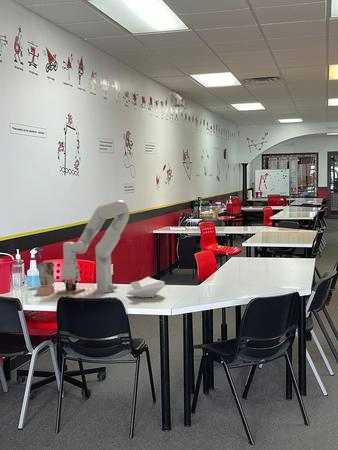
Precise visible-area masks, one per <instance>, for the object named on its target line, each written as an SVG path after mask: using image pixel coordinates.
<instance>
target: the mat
mask: <svg viewBox="0 0 338 450" xmlns="http://www.w3.org/2000/svg"><path fill="white" fill-rule="evenodd" d="M87 290H88V289H85V291H82V292H80V293H77V294H69V295H73V296H74V295H75V296H77V295H80V294H81V293H83V292H86V291H87ZM54 294H55V295H58V294H57V292H56V293H55V292H54Z"/></svg>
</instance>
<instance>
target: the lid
mask: <svg viewBox="0 0 338 450" xmlns="http://www.w3.org/2000/svg"><path fill="white" fill-rule="evenodd" d="M72 285H73V281H68V290H66V288H64V289H61V290H59V291H56V293H57V294H56V295H70V294H77V293H79V294H81V293H80V292H82V291H84V292H86V291H85V290H86V288H76V290H75V291H73V287H72ZM82 293H83V292H82ZM77 295H78V294H77Z"/></svg>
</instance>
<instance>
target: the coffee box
mask: <svg viewBox="0 0 338 450" xmlns="http://www.w3.org/2000/svg"><path fill="white" fill-rule="evenodd" d="M36 265H37V266H36V267H37V272H38V271H39V278H40V285H41V286H45V285H52V284H54V285H55V277H54V276H55V275H54V271H55V270H54V262H53V261H44V262H37V263H36Z"/></svg>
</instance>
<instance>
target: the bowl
mask: <svg viewBox="0 0 338 450" xmlns="http://www.w3.org/2000/svg"><path fill="white" fill-rule="evenodd" d="M35 288H36V295H37V296H40V297H41V296H43V297H44V296H52V295H54V294H55V285H53V286H52V285H45V286H36V287H35Z"/></svg>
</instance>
